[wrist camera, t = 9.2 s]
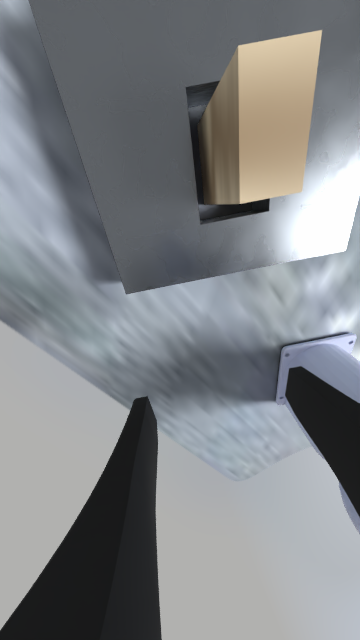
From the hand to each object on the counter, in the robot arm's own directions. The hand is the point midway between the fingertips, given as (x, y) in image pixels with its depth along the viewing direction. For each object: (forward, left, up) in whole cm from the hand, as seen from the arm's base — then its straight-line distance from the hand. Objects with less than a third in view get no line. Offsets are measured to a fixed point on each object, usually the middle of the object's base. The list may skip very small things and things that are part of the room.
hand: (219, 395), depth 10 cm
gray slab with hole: (+10, -3, -9) cm, 14 cm away
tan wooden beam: (+10, -3, -9) cm, 14 cm away
